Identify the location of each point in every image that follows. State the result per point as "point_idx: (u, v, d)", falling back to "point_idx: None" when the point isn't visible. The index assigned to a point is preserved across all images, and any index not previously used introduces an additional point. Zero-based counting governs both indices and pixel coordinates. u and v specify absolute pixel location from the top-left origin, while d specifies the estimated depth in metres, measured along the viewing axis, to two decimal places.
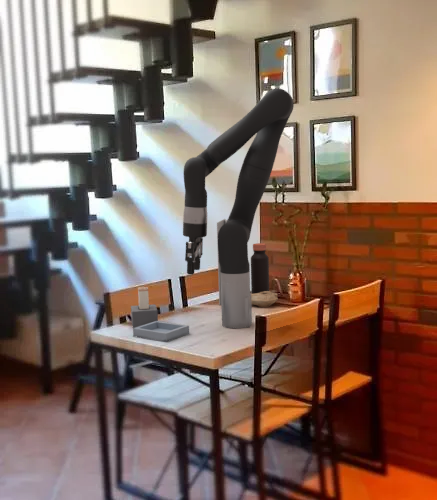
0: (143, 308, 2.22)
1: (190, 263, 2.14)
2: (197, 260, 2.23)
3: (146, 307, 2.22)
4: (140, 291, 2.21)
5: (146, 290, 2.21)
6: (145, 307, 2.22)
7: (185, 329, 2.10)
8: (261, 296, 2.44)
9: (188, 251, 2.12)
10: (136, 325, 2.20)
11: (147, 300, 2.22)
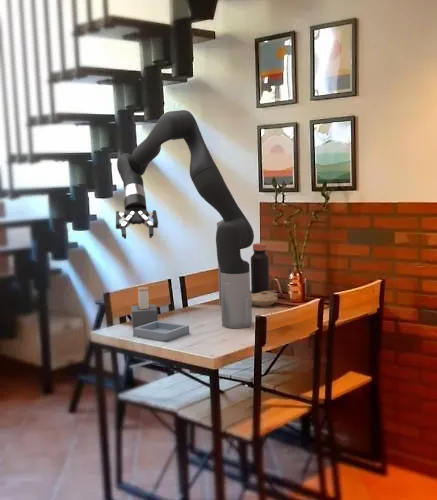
0: (143, 308, 2.22)
1: (121, 228, 2.33)
2: (149, 228, 2.34)
3: (146, 307, 2.22)
4: (140, 291, 2.21)
5: (146, 290, 2.21)
6: (145, 307, 2.22)
7: (185, 329, 2.10)
8: (261, 296, 2.44)
9: None
10: (136, 325, 2.20)
11: (147, 300, 2.22)
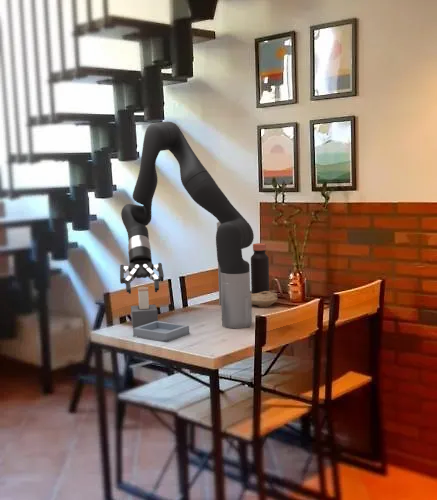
0: (143, 308, 2.22)
1: (125, 283, 2.26)
2: (154, 282, 2.27)
3: (146, 307, 2.22)
4: (140, 291, 2.21)
5: (146, 290, 2.21)
6: (145, 307, 2.22)
7: (185, 329, 2.10)
8: (261, 296, 2.44)
9: None
10: (136, 325, 2.20)
11: (147, 300, 2.22)
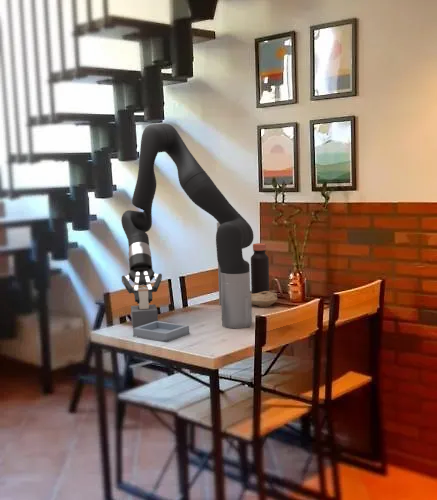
0: (143, 308, 2.22)
1: (134, 293, 2.23)
2: None
3: (146, 307, 2.22)
4: (140, 291, 2.21)
5: (146, 290, 2.21)
6: (145, 307, 2.22)
7: (185, 329, 2.10)
8: (261, 296, 2.44)
9: (125, 285, 2.25)
10: (136, 325, 2.20)
11: (147, 300, 2.22)
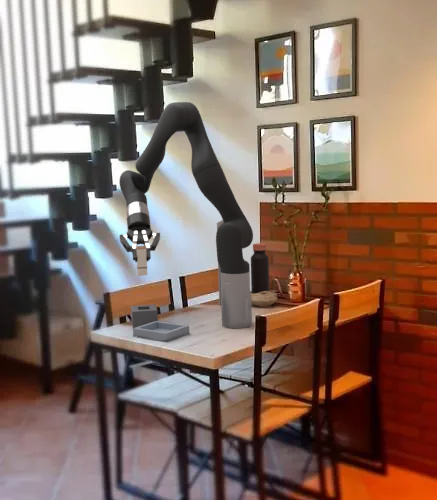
0: (141, 266, 2.20)
1: (132, 251, 2.21)
2: None
3: (144, 265, 2.20)
4: (138, 249, 2.19)
5: (144, 248, 2.19)
6: (143, 265, 2.20)
7: (185, 329, 2.10)
8: (261, 296, 2.44)
9: (123, 244, 2.23)
10: (136, 325, 2.20)
11: (145, 258, 2.20)
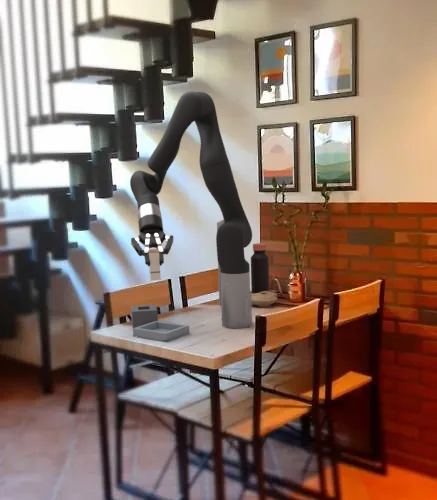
0: (154, 271, 2.10)
1: (144, 255, 2.11)
2: None
3: (157, 270, 2.10)
4: (151, 253, 2.09)
5: (157, 252, 2.09)
6: (156, 270, 2.10)
7: (185, 329, 2.10)
8: (261, 296, 2.44)
9: (134, 248, 2.13)
10: (136, 325, 2.20)
11: (158, 262, 2.10)
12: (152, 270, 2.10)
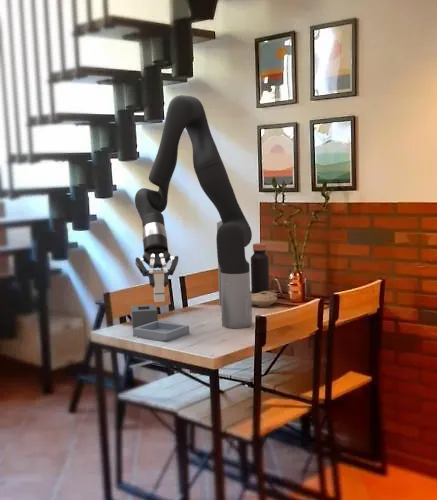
0: (158, 292, 2.07)
1: (149, 276, 2.08)
2: None
3: (162, 291, 2.07)
4: (155, 274, 2.06)
5: (162, 273, 2.06)
6: (160, 291, 2.07)
7: (185, 329, 2.10)
8: (260, 296, 2.44)
9: (139, 268, 2.10)
10: (136, 325, 2.20)
11: (163, 284, 2.07)
12: (156, 291, 2.07)
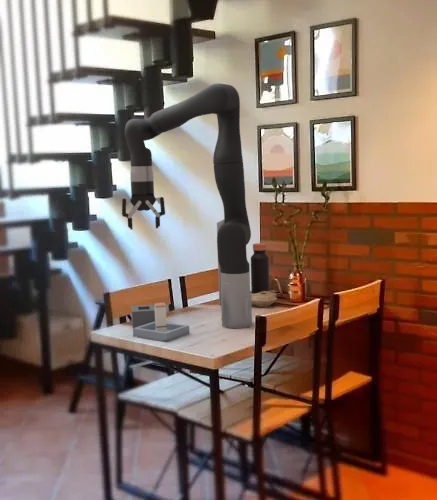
0: (160, 325, 2.08)
1: None
2: (155, 219, 2.31)
3: (164, 324, 2.09)
4: (157, 307, 2.08)
5: (164, 306, 2.08)
6: (162, 324, 2.08)
7: (185, 329, 2.10)
8: (260, 296, 2.44)
9: None
10: (136, 325, 2.20)
11: (165, 317, 2.08)
12: (158, 325, 2.08)
